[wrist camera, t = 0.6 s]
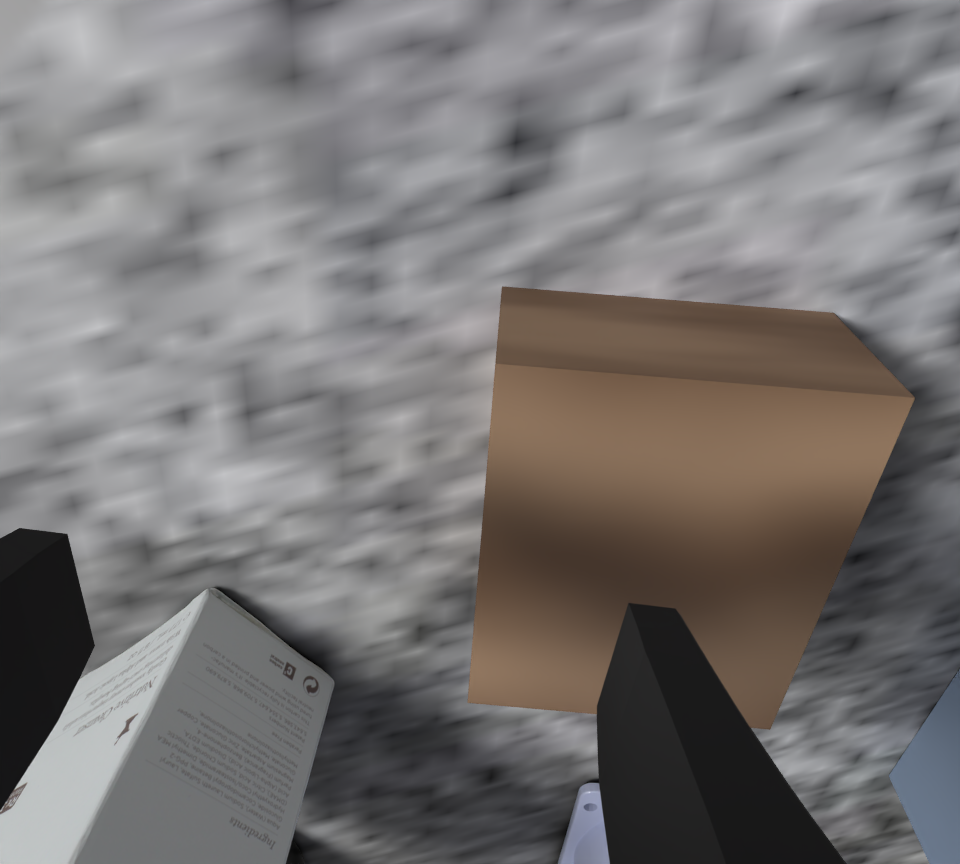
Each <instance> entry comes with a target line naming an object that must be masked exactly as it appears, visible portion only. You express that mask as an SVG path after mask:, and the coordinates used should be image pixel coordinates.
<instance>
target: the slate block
mask: <svg viewBox="0 0 960 864" xmlns="http://www.w3.org/2000/svg"><path fill="white" fill-rule="evenodd" d="M889 777H890V780H891V782H892V784H893V786H894V788H895V790H896V792H897V795H898V797H899V799H900V801H901V803H902V805H903V807H904V810H905V812H906V814H907V816H908V818H909V820H910V822H911V825H912V827H913V829H914V831H915V833H916V835H917V837H918V840H919V842H920V844H921V846H922V848H923V850H924V852H925V855H926V857H927V859H928V861H929V863H930V864H960V669H959V671H958V672H957V674H956V675H955V677H954V678H953V680H952V681H951V683H950V684H949V686H948V687H947V689H946V690H945V692H944V693H943V695H942V696H941V698H940V699H939V701H938V702H937V704H936V706H935V707H934V709H933V710H932V712H931V713H930V715H929V716H928V718H927V719H926V721H925V722H924V724H923V725H922V727H921V728H920V730H919V731H918V733H917V734H916V736H915V737H914V739H913V740H912V742H911V743H910V745H909V746H908V748H907V749H906V751H905V752H904V754H903V755H902V757H901V758H900V760H899V761H898V763H897V764H896V766H895V767H894V769H893V770H892V772H891V773H890V775H889Z"/></svg>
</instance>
